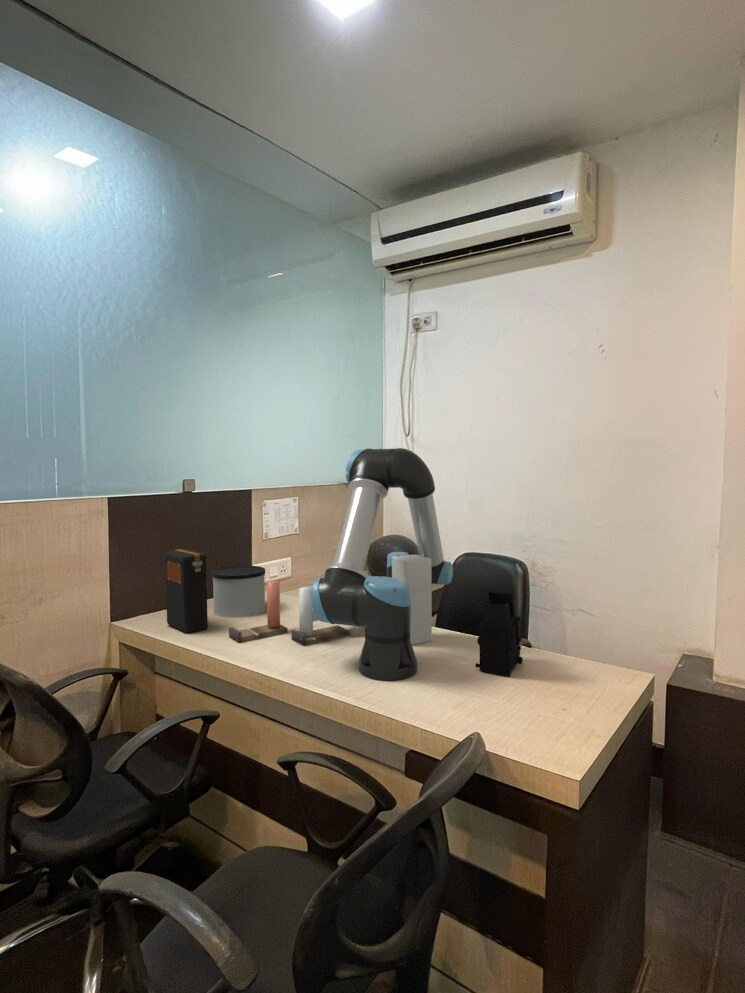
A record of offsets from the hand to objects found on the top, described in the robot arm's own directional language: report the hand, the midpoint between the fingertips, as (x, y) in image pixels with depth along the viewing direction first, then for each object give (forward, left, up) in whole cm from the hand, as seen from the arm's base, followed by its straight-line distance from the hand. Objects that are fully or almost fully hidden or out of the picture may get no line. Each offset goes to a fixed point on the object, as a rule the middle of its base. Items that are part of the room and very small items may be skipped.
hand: (312, 616), depth 167 cm
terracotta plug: (+6, +14, -5) cm, 16 cm away
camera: (-15, -55, -7) cm, 57 cm away
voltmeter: (+7, +44, -7) cm, 45 cm away
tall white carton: (+4, -30, -7) cm, 31 cm away
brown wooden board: (+2, -2, -7) cm, 7 cm away
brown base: (+2, +18, -7) cm, 19 cm away
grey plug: (-2, +1, -5) cm, 5 cm away
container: (+29, +35, -7) cm, 46 cm away
